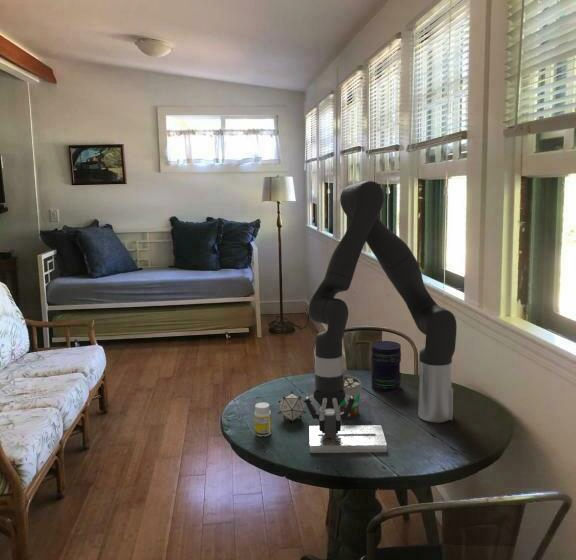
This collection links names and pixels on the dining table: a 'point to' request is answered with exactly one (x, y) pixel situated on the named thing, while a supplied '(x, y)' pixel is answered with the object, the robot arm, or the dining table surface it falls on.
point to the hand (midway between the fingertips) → (329, 431)
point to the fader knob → (330, 423)
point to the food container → (351, 388)
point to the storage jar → (386, 366)
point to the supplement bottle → (262, 419)
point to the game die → (292, 407)
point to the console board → (349, 440)
